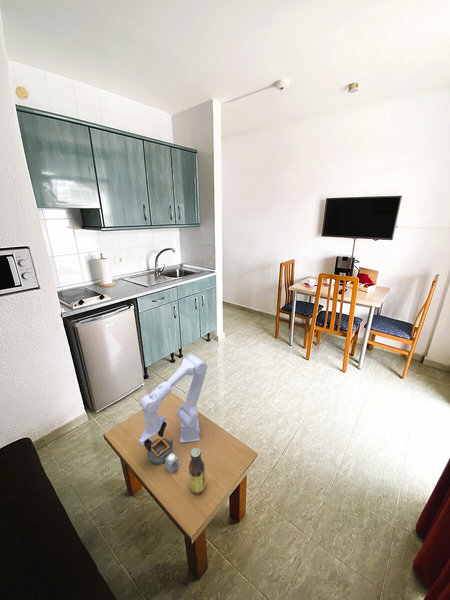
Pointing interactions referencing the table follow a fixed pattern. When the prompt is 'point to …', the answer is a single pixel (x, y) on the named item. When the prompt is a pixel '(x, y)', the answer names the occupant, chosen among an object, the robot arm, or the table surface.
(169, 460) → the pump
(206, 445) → the table surface
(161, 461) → the grey disc square socket
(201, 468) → the sauce bottle
